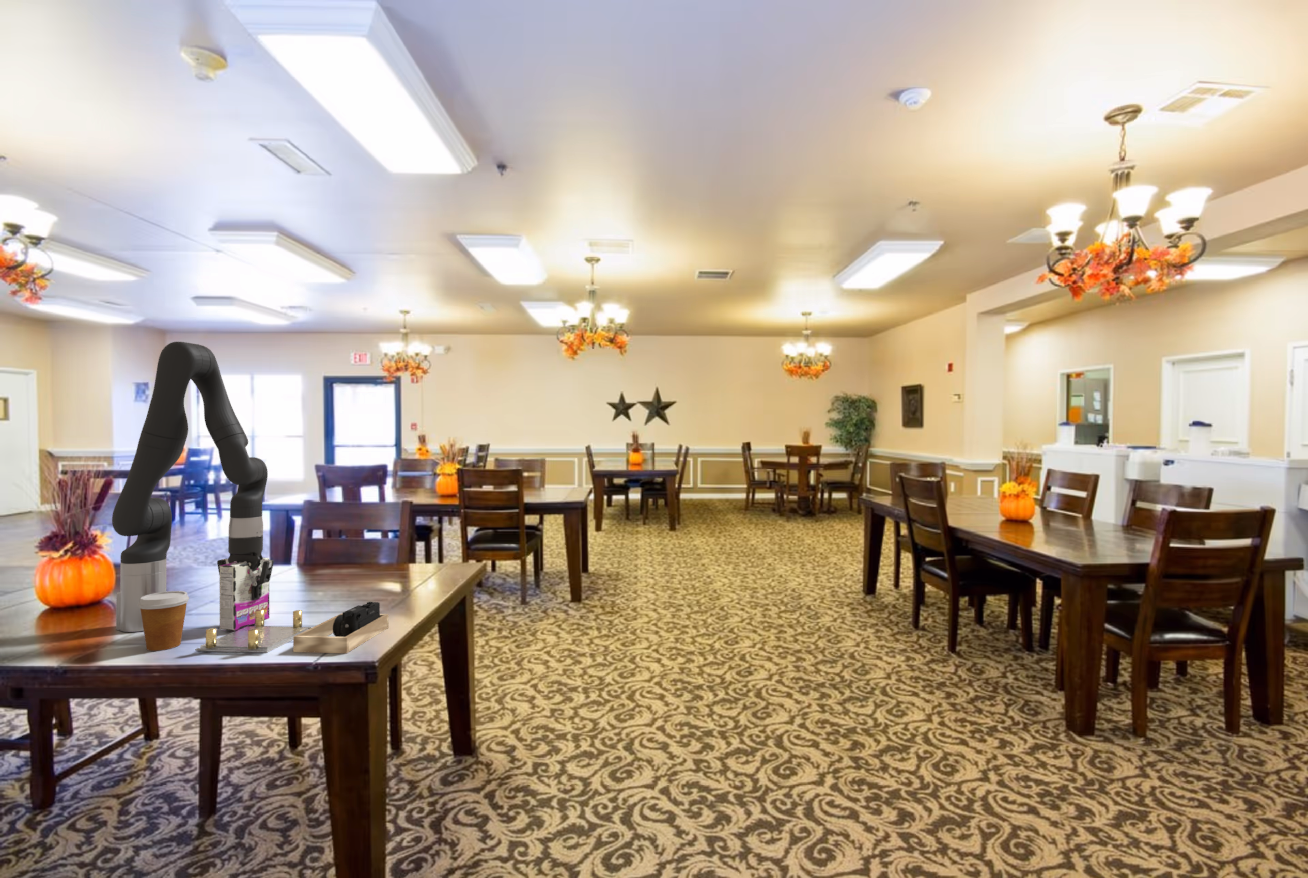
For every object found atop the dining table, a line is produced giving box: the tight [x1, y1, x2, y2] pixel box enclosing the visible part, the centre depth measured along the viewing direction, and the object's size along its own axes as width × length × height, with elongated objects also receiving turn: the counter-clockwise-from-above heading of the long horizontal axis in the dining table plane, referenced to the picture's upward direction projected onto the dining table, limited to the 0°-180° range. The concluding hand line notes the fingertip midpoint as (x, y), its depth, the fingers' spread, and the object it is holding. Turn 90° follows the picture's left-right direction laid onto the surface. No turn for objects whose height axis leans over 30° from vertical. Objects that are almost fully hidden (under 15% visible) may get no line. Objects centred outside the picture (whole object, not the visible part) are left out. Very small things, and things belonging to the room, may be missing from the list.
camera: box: [332, 601, 381, 637], centre depth 153 cm, size 14×7×8 cm, turn 176°
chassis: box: [194, 609, 312, 654], centre depth 150 cm, size 16×18×5 cm
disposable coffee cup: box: [138, 590, 190, 652], centre depth 146 cm, size 10×10×12 cm
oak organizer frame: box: [292, 612, 390, 654], centre depth 151 cm, size 13×20×4 cm, turn 177°
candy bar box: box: [219, 557, 270, 631], centre depth 161 cm, size 11×5×16 cm, turn 169°
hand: (245, 599), depth 161 cm, fingers closed on candy bar box, 5 cm apart
